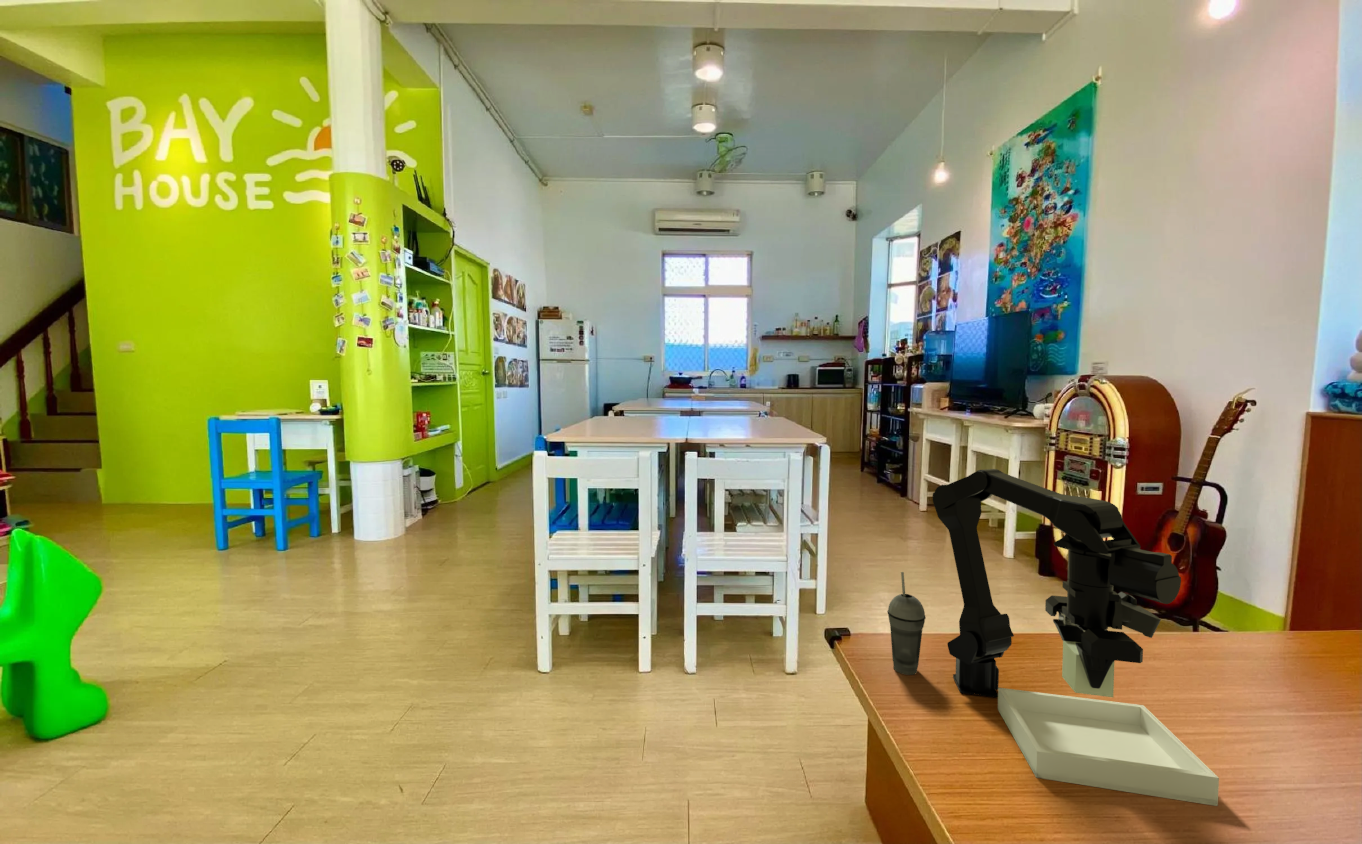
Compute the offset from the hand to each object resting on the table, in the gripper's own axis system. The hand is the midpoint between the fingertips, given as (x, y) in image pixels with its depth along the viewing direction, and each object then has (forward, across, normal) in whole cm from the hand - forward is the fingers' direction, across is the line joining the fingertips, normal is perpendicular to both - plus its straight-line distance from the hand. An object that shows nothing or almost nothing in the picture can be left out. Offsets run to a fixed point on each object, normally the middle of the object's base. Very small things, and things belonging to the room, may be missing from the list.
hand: (1087, 679), depth 85 cm
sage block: (+1, 0, 0) cm, 1 cm away
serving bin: (+12, 0, -1) cm, 12 cm away
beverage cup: (+12, +20, +24) cm, 33 cm away
